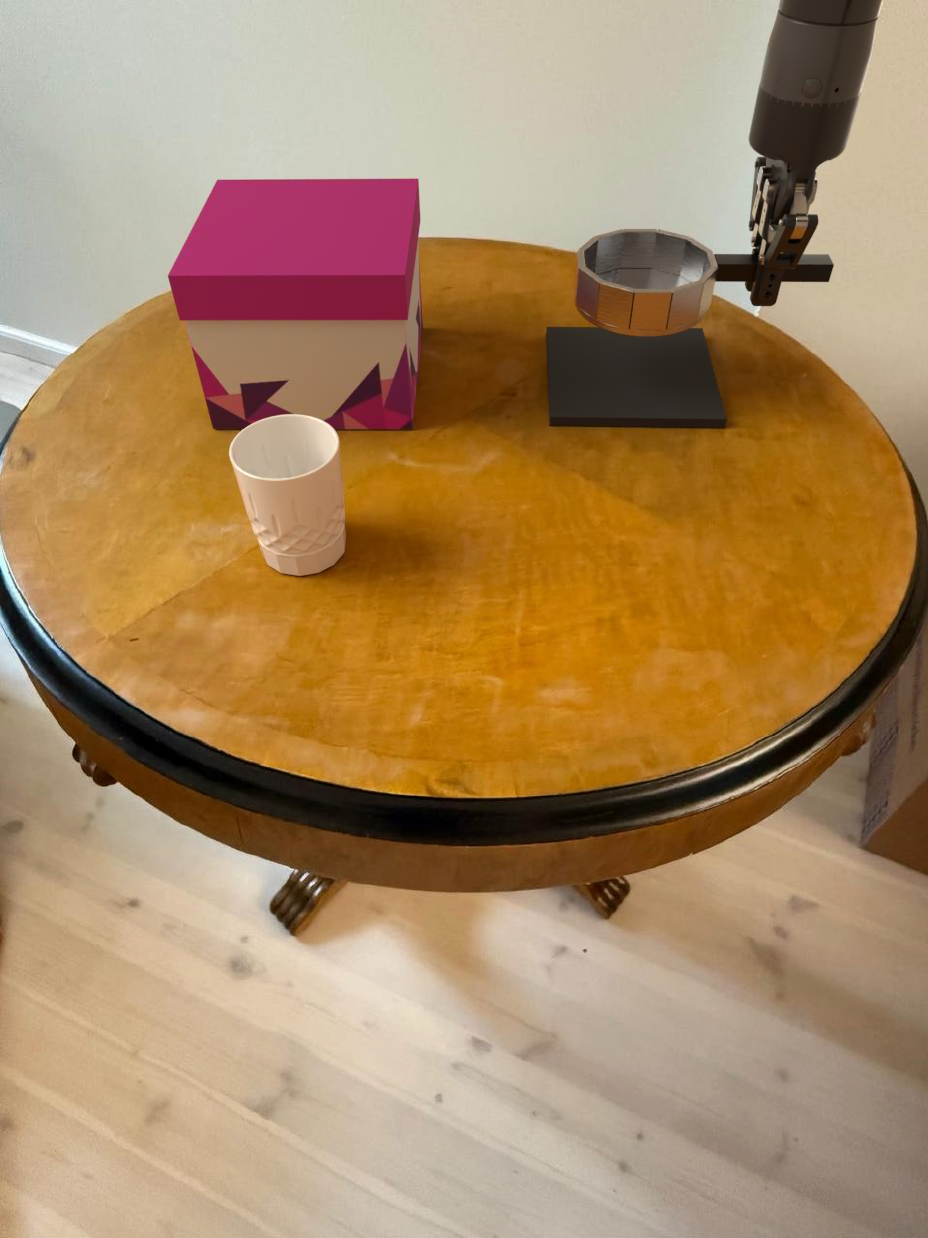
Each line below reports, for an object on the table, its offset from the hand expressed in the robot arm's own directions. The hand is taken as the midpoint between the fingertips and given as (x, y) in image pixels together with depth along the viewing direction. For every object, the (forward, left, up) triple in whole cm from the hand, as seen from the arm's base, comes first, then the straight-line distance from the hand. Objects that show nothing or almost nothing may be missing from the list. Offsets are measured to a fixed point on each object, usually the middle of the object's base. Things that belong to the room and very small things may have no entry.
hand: (759, 295), depth 81 cm
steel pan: (+6, 0, -1) cm, 6 cm away
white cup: (+39, +25, -9) cm, 47 cm away
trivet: (+11, 0, -9) cm, 14 cm away
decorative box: (+41, 0, -9) cm, 42 cm away
